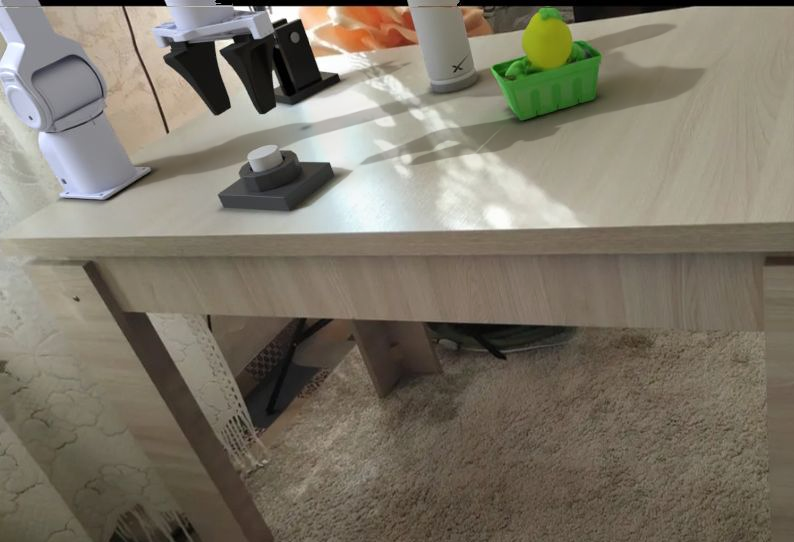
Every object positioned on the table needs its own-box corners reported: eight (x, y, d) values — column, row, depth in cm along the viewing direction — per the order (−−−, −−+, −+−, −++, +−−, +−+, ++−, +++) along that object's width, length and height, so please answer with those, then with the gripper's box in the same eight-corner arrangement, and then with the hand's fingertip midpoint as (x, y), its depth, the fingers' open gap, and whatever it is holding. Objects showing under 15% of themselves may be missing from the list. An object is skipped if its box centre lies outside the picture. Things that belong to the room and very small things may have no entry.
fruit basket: (588, 80, 92) (573, -19, 86) (614, 102, 85) (600, -5, 79) (497, 108, 92) (475, 10, 85) (516, 132, 84) (494, 27, 78)
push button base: (223, 208, 85) (210, 179, 83) (270, 174, 91) (258, 146, 89) (290, 211, 81) (277, 181, 78) (335, 176, 86) (324, 146, 84)
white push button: (247, 173, 83) (240, 158, 82) (267, 159, 86) (261, 144, 85) (270, 174, 82) (263, 159, 81) (290, 159, 84) (284, 144, 83)
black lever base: (292, 105, 111) (265, 35, 105) (267, 100, 115) (240, 34, 110) (340, 81, 115) (318, 13, 109) (315, 77, 120) (291, 12, 114)
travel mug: (474, 89, 99) (433, -83, 87) (426, 96, 101) (380, -71, 89) (484, 71, 104) (446, -94, 92) (438, 79, 106) (395, -82, 94)
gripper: (104, -8, 73) (170, 128, 81) (209, -24, 66) (271, 126, 74) (159, -30, 78) (217, 100, 86) (263, -47, 71) (315, 97, 79)
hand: (245, 111), depth 80 cm, fingers open, 6 cm apart
